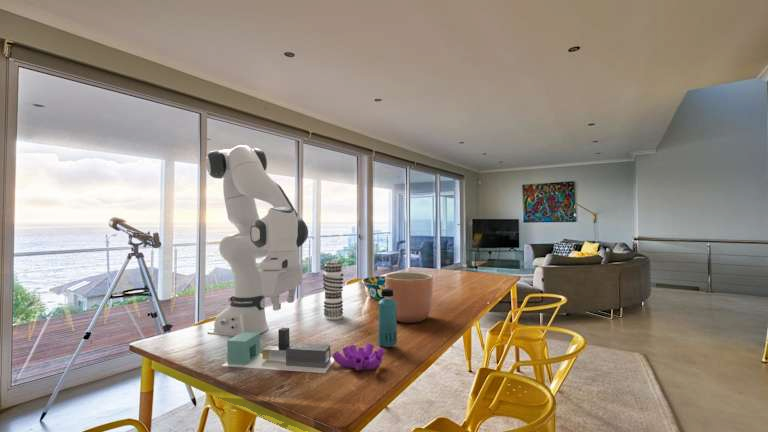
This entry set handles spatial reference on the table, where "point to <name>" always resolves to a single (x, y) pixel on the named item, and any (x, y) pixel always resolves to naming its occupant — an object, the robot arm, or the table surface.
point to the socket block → (243, 348)
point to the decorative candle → (333, 290)
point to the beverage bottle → (387, 319)
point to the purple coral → (359, 357)
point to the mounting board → (279, 365)
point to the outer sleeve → (307, 355)
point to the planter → (411, 295)
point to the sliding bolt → (281, 347)
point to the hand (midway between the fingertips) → (284, 305)
